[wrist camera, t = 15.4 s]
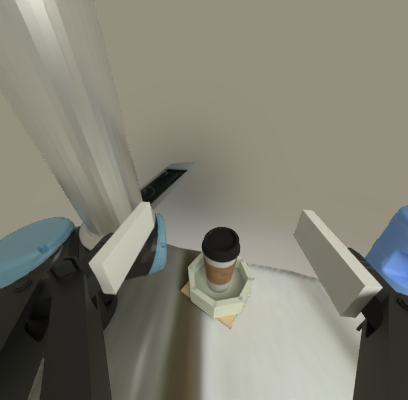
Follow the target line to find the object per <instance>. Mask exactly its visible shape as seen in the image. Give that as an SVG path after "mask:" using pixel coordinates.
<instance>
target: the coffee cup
mask: <svg viewBox="0 0 408 400" xmlns="http://www.w3.org/2000/svg"><path fill="white" fill-rule="evenodd" d="M202 251H203V256H204V264H205V271H206V279H207V285H208V287H209V288H210V290H212V291H213V292H216V293H222V292H225V291H226V290H227V289H228V288H229V285H230V281H231V278H232V275H233V271H234V268H235V264H236V261H237V257H238V255H239V253H240V244H239V237H238V235H237V234H236V232H235V231H233V230H232V229H230V228H226V227H217V228H214V229H212V230H210V231H209V232H208V233H207V234H206V235H205V237H204V240H203V243H202Z"/></svg>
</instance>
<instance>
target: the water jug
mask: <svg viewBox="0 0 408 400" xmlns="http://www.w3.org/2000/svg"><path fill="white" fill-rule="evenodd" d="M365 260H366V261H367V263H369V264H370V265H371V266H372V267H373V269H375V270H376V271H377V272H378V273H379V274H380V275H381V276H382V277H383V278H384V280H385V281H386V282H387V283H388V284H389V285H390V286H391V287H392V288H393V289H394V290H395V291H396V292H398V293H402V294H405V295H407V296H408V206H404V207H402V208H400V209H399V211H398V212H397V213H396V214H395V215H394V216H393V218H392V219H391V221H390V223H389V225H388V226H387V228H386V229H385V230H384V232H383V233H382V235H381V236H380V238H378V239H377V240H376V242H375V243H374V245H373V246H372V249H371V250H370V252H369V253H368V254H367V256H366V257H365Z"/></svg>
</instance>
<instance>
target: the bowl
mask: <svg viewBox="0 0 408 400" xmlns="http://www.w3.org/2000/svg"><path fill="white" fill-rule="evenodd" d="M188 275H189V281H188V282H187V284H186V285H185V286H184V287H183V288H182V289H181V292H182V293H184V294H185V295H186V296H188V297H189V298H190V299H191V301H192V302H193V303H194V304H195V305H197V306H198V307H199V308H201V309H202V310H203V311H204V312H206V313H207V314H208V315H210V316H211V317H212V318H213V319H214V318H216V319H218V320H219V321H220V322H222V323H223V324H224V325H226V326H227V327H228V328H229V329H231V327H232V325H233V323H234V321H235V319H236V316H237V314H239V313H241V312H242V310H243V308H244V305H245V303H246V301H247V299H248V297H249V294H250V292H251V290H252V286H253V282H254V278H253V277H252V275H251V273H250V271H249V269H248V266H247V264H246V262H245V260H244V259H243V258H241V257H239V256H238V257H237V261H236V264H235V268H234V271H233V275H232V278H231V281H230V285H229V288H228V289H227V290H226V291H225V292H222V293H216V292H213V291H212V290H210V288H209V287H208V285H207V279H206V271H205V264H204V256H203V251H202V252H201V253H200V255H199V256H198V257H197V258H196V259H195V260H194V261H193V262H192V263H191V264H190V265H189V266H188Z"/></svg>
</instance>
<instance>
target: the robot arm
mask: <svg viewBox="0 0 408 400" xmlns="http://www.w3.org/2000/svg"><path fill="white" fill-rule="evenodd" d="M0 91H1V92H2V94H3V96H4V97H5V99H6V100H7V102H8V104H9V105H10V106H11V108H12V110H13V111H14V113H15V114H16V116H17V118H18V119H19V121H20V123H21V124H22V126H23V127H24V129H25V131H26V132H27V134H28V135H29V137H30V138H31V140H32V141H33V143H34V145H35V146H36V148H37V150H38V151H39V153H40V154H41V156H42V157H43V159H44V161H45V162H46V164H47V165H48V167H49V169H50V170H51V172H52V173H53V175H54V177H55V178H56V179H57V181H58V183H59V184H60V186H61V188H62V189H63V191H64V192H65V194H66V195H67V197H68V198H69V200H70V202H71V203H72V205H73V207H74V208H75V210H76V211H77V213H78V215H79V216H80V218H81V219H82V221H83V223H82V225H81V226H79V227H74V223H73V222H72V221H70V220H69V219H67V218H64V217H54V218H48V219H44V220H41V221H38V222H35V223H32V224H30V225H27V226H25V227H23V228H21V229H18V230H17V231H15V232H13V233H11V234H9V235H7V236H6V237H4V238H3V239H1V240H0V400H27V399H28V396H29V393H30V390H31V388H32V385H33V382H34V379H35V376H36V374H37V371H38V368H39V365H40V363H41V360H42V357H44V358H45V361H44V369H43V378H42V386H41V394H40V400H112V398H111V390H110V382H109V374H108V367H107V359H106V351H105V343H104V336H103V330H104V329H105V327H106V326H107V325H108V323H109V322H110V320H111V318H112V316H113V314H114V312H115V309H116V306H117V294H116V293H117V291H118V289H119V288H120V286H121V284H122V282H123V281H125V280H129V279H133V278H136V277H140V276H148V275H150V274H151V273H154V272H157V271H160V270H162V269H163V268H164V266H165V264H166V259H167V246H166V231H165V224H164V219H163V216H162V215H161V214H159V213H154V211H153V209H152V208H151V207H150V202H143V201H142V197H141V192H140V188H139V184H138V180H137V176H136V172H135V167H134V164H133V159H132V155H131V151H130V147H129V143H128V138H127V134H126V130H125V126H124V122H123V118H122V113H121V109H120V105H119V101H118V97H117V93H116V88H115V85H114V80H113V76H112V72H111V68H110V63H109V59H108V55H107V51H106V47H105V43H104V38H103V34H102V30H101V26H100V22H99V18H98V14H97V9H96V5H95V1H94V0H0ZM294 237H295V238H296V240H297V242H298V244H299V245H300V247H301V249H302V250H303V252H304V254H305V256H306V257H307V259H308V261H309V262H310V264H311V266H312V268H313V269H314V271H315V273H316V275H317V276H318V278H319V280H320V281H321V283H322V285H323V287H324V288H325V290H326V292H327V293H328V295H329V297H330V299H331V300H332V302H333V304H334V305H335V307H336V309H337V311H338V312H339V314H340V316H343V317H353V318H356V317H357V316H358V314H359V313H360V312H362V314H363V315H364V317H365V318H366V319H365V320H364V321H363V322H362V323H361V324H360V325H359V326H358V327H357V329H356V330H358V331H360V330H361V329H362V334H361V342H360V349H359V357H358V364H357V372H356V380H355V387H354V395H353V400H408V296H407V295H405V294H402V293H398V292H396V291H395V290H394V289H393V288H392V287H391V286H390V285H389V284H388V283H387V282H386V281H385V280H384V278H383V277H382V276H381V275H380V274H379V273H378V272H377V271H376V270H375V269H373V267H372V266H371V265H370V264H369V263H367V261H366V260H365V259H364V258H363V257H362V256H361V255H360V254H359V253H357V252H356V251H355V250H353V249H351V248H346V247H345V246H344V244H342V242H341V241H340V240H339V239H338V238H337V237H336V236H335V234H333V232H332V231H331V230H330V229H329V228H328V227H327V226H326V225H325V224H324V222H322V220H321V219H320V218H319V217H318V216H317V215H316V214H315V213H314V212H313V211H312V210H303V211H302V214H301V217H300V219H299V222H298V225H297V228H296V230H295V233H294Z"/></svg>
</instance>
